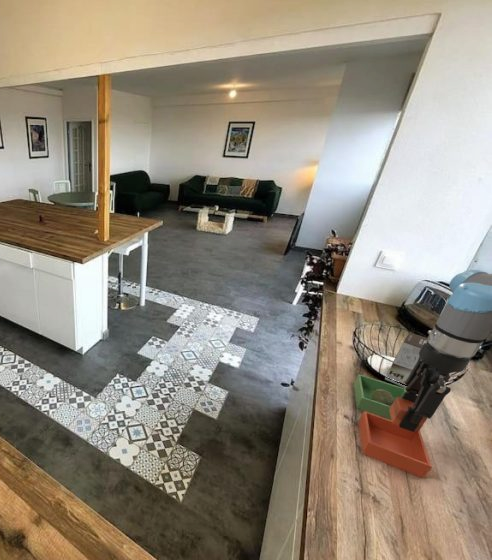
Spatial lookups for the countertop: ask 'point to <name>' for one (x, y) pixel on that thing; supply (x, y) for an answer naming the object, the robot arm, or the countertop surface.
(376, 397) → the lime
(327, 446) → the countertop surface
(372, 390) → the green bin
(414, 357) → the coffee box
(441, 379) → the robot arm
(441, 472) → the countertop surface
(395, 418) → the block
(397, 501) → the countertop surface
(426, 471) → the terracotta bin
